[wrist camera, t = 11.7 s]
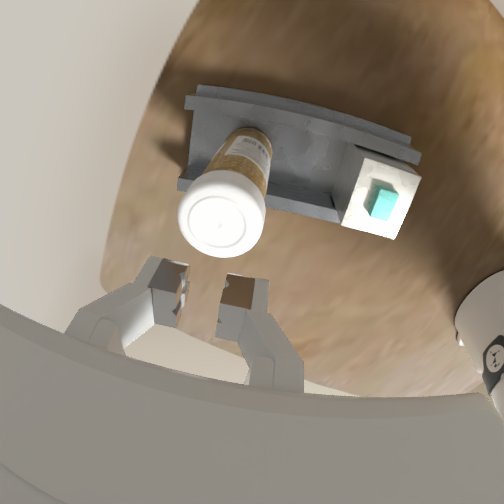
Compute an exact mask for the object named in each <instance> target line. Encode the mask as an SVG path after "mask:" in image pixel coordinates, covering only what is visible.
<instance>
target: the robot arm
mask: <svg viewBox="0 0 504 504" xmlns="http://www.w3.org/2000/svg"><path fill="white" fill-rule="evenodd" d="M189 274H190V265H189V264H185V263H181V262H177V261H173V260H169V259H165V258H164V259H163V258H159V257H155V256H150V257H149V258H148V259H147V261H146V263H145V264H144V266H143V268H142V269H141V271H140V273H139V274H138V276H137V278H136V280H135V281H134V283H133V284H132V283H128V284H126V285H124V286H122V287H120V288H118V289H117V290H115V291H113V292H111V293H109V294H107V295H105V296H103V297H101V298H99V299H97V300H96V301H93V302H92V303H90V304H88V305H86V306H84V307H83V308H80V309H79V310H78V312H77V313H76V315H75V317H74V318H73V320H72V321H71V323H70V325H69V326H68V328H67V330H66V331H65V333H61V332H59V331H56V330H54V329H52V328H49V327H47V326H45V325H42V324H40V323H38V322H36V321H34V320H31V319H29V318H27V317H25V316H23V315H21V314H19V313H17V312H15V311H13V310H11V309H9V308H7V307H5V306H3V305H1V304H0V504H504V270H502V271H500V272H498V273H496V274H494V275H492V276H490V277H488V278H487V279H485V280H484V281H483V282H481V283H480V284H479V285H478V286H477V287H475V288H474V289H473V290H472V291H471V292H470V294H469V295H468V296H467V297H466V298H465V300H464V301H463V302H462V304H461V306H460V307H459V309H458V311H457V314H456V317H455V327H456V329H457V331H458V337H457V342H458V344H459V345H460V346H464V347H465V349H466V351H467V353H468V355H469V357H470V359H471V361H472V363H473V365H474V367H475V369H476V371H477V372H478V373H483V374H482V377H483V380H484V385H485V388H486V389H487V391H488V394H489V396H492V398H493V401H494V405H495V406H494V405H493V404H492V403H491V402H490V401H489V399H488V398H486V397H485V396H484V395H483V394H481V393H466V394H456V395H444V396H428V397H353V396H335V395H322V394H311V393H304V362H303V360H302V359H301V357H300V356H299V354H298V353H297V351H296V350H295V349H294V347H293V346H292V344H291V343H290V341H289V340H288V338H287V337H286V335H285V334H284V332H283V331H282V330H281V328H280V327H279V325H278V324H277V322H276V321H275V319H274V318H273V316H272V315H271V314H269V313H267V306H268V294H269V280H266V279H260V278H253V277H248V276H243V275H238V274H233V273H228V274H227V277H226V282H225V288H224V289H223V293H222V297H221V301H220V307H219V313H218V322H217V327H216V335H215V337H217V338H221V339H226V340H230V341H235V342H238V345H239V347H240V349H241V351H242V354H243V356H244V358H245V360H246V362H247V364H248V366H249V371H248V374H247V376H246V380H245V382H244V384H238V383H232V382H227V381H222V380H217V379H212V378H207V377H202V376H198V375H194V374H189V373H185V372H181V371H177V370H173V369H169V368H166V367H162V366H158V365H155V364H151V363H147V362H144V361H140V360H137V359H134V358H131V357H128V356H126V355H125V352H124V348H125V347H126V346H127V345H129V344H130V343H131V342H133V341H134V340H135V339H136V338H138V337H139V336H140V335H142V334H143V333H144V332H146V331H147V330H148V329H149V328H151V327H152V326H153V325H154V323H155V324H160V325H164V326H169V327H173V328H177V326H178V323H179V320H180V317H181V308H182V307H184V306H185V303H186V301H187V296H188V292H189V281H188V277H189Z"/></svg>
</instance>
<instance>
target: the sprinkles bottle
mask: <svg viewBox="0 0 504 504" xmlns="http://www.w3.org/2000/svg"><path fill="white" fill-rule="evenodd" d="M272 154H273V150H272V145H271V142H270V141H269V139H268V138H267V137H266V136H265V135H264V134H263V133H262V132H261V131H258V130H256V129H253V128H242V129H237V130H235V131H234V132H232V133H231V134H230V135H229V136H228V137H227V139H226V140H225V142H224V144H223V145H222V146H221V147H220V148H219V150H218V151H217V152H216V154H215V155H214V157H213V158H212V160H211V162H210V163H209V165H208V166H207V168H206V169H205V171H204V172H203V174H202V175H201V176H200V177H198V178H197V179H196V180H194V182H193V183H192V184H191V185H190V187H189V188H188V189H187V191H186V192H185V194H184V196H183V198H182V199H181V201H180V204H179V207H178V224H179V227H180V230H181V232H182V234H183V236H184V237H185V239H186V240H187V241H188V242H189V243H190V244H191V245H192V246H193V247H195V248H196V249H197V250H199V251H201V252H203V253H205V254H207V255H210V256H215V257H223V258H224V257H234V256H238V255H240V254H243V253H245V252H246V251H248V250H250V249H251V248H252V247H253V246H254V245H255V244H256V242H257V241H258V240H259V238H260V236H261V233H262V229H263V225H264V219H265V202H264V199H265V195H266V191H267V185H268V179H269V172H270V161H271V159H272Z"/></svg>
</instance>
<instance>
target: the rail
mask: <svg viewBox="0 0 504 504" xmlns="http://www.w3.org/2000/svg"><path fill="white" fill-rule="evenodd" d="M184 109H186V110H194V114H193V122H192V130H191V140H190V149H189V160H188V167H187V168H186V169H185V170H184V172H183V173H182V174H181V175H180V176H179V177H178V184H177V190H179V191H185V192H186V191H187V189H188V188H189V187H190V185H191V184H192V183H193V182H194V180H196V179H197V178H198V177H200V176H201V175H202V174H203V172H204V171H205V169H206V168H207V166H208V165H209V163H210V162H211V160H212V158H213V157H214V155H215V154H216V152H217V151H218V150H219V148H220V147H221V146H222V145H223V144H224V142H225V140H226V139H227V137H228V136H229V135H230V134H231V133H232V132H234V131H235V130H237V129H242V128H253V129H256V130H258V131H261V132H262V133H263V134H264V135H265V136H266V137H267V138H268V139H269V141H270V142H271V145H272V150H273V154H272V159H271V161H270V172H269V179H268V185H267V191H266V195H265V199H264V202H265V207H268V208H273V209H277V210H282V211H287V212H291V213H296V214H300V215H305V216H309V217H314V218H318V219H322V220H327V221H331V222H335V223H339V224H341V226H345V227H349V228H353V229H357V230H362V231H366V232H369V233H373V234H377V235H381V236H385V237H389V238H393V239H395V237H396V235H397V233H398V230H399V228H400V226H401V224H402V222H403V220H404V218H405V215H406V213H407V211H408V209H409V206H410V204H411V202H412V199H413V197H414V195H415V192H416V190H417V187H418V185H419V183H420V180H421V178H422V177H421V176H419V175H418V174H417V173H416V172H415V171H414V170H413V169H412V168H411V167H410V166H409V165H408V164H407V163H406V162H409V163H412V164H414V165H417V166H418V164H419V162H420V159H421V156H422V153H421V152H420V151H418V150H417V149H416V148H414V147H413V146H411V145H410V142H411V139H412V137H410V136H409V135H407V134H404V133H402V132H399V131H396V130H394V129H391V128H388V127H386V126H383V125H380V124H377V123H374V122H372V121H369V120H366V119H363V118H360V117H356V116H353V115H350V114H347V113H344V112H340V111H337V110H333V109H330V108H326V107H322V106H319V105H315V104H311V103H307V102H303V101H299V100H294V99H290V98H285V97H281V96H276V95H271V94H265V93H260V92H254V91H249V90H242V89H236V88H229V87H222V86H213V85H205V84H198V85H197V91H196V92H195V93H192V94H188V95H186V98H185V107H184ZM405 161H406V162H405Z"/></svg>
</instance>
